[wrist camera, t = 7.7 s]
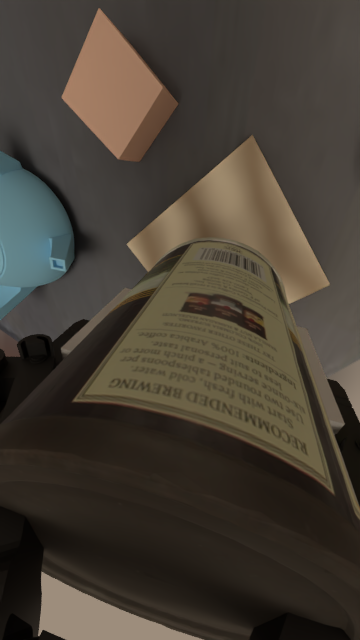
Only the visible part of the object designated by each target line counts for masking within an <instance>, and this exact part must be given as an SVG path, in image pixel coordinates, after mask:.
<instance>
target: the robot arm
mask: <svg viewBox="0 0 360 640" xmlns="http://www.w3.org/2000/svg"><path fill="white" fill-rule="evenodd" d="M131 290H132V289H127V288H124V289H123V290H122V291H121V292H120V293H119V294H118V295H117V296H116V297H115V298H114V299H113V300H112V301H110V302H109V303H108V304H107V305H106V306H105V307H104V308H103V309H102V310H101V311H100V312H99V313H98V314H97V315H96V316H95V317H93V318H92V319H91V320H90V321H88V320H84V319H83V320H80V321H78V322H76V323H74V324H73V325H72V326H71V327H69V328H68V329H67V330H66V331H65V332H64V333H63V334H61V335H60V336H59V337H58V338H57V339H56V340H54V341H53V342H52V340H51V338H50V337H49V336H47V335H44V334H36V335H30V336H28V337H25V338H23V339H22V340H20V341H19V342H18V344H17V347H18V350H19V353H20V357H6V356H5V353H4V351H3V350H1V349H0V424H1V423H2V422H3V421H4V420H5V419H6V418H7V417H8V416H9V415H10V414H11V413H12V412H13V411H14V410H15V409H16V408H17V407H18V406H19V405H20V404H21V403H22V402H23V401H24V400H25V399H26V398H27V397H28V396H29V395H30V394H31V393H32V391H33V390H34V389H35V388H36V387H37V386H38V385H39V384H40V383H41V382H43V380H44V379H45V378H46V377H47V376H48V375H49V374H50V373H51V372H52V371H53V370H54V369H55V368H56V367H57V366H58V365H59V364H60V362H61V361H62V360H63V359H64V358H66V357H67V356H68V354H69V353H70V352H71V351H72V350H73V349H74V348H75V347H76V346H77V345H78V344H79V343H80V342H81V341H82V340H83V339H84V338H85V337H86V336H87V335H88V334H89V333H90V332H91V331H92V330H93V329H94V327H95V326H96V325H97V324H99V323H100V322H101V321H102V320H103V319H104V318H105V317H106V316H107V315H108V313H109V312H110V311H111V310H112V309H113V308H114V307H115V306H116V305H117V304H118V303H119V302H120V301H121V300H122V299H123V298H124V297H125V296H126V295H127V294H128V293H129V292H130V291H131ZM296 327H297V326H296ZM297 329H298V332H299V335H300V337H301V340H302V343H303V346H304V349H305V352H306V355H307V358H308V361H309V364H310V367H311V370H312V372H313V375H314V378H315V381H316V384H317V387H318V389H319V392H320V395H321V398H322V401H323V403H324V406H325V409H326V412H327V415H328V418H329V421H330V424H331V427H332V430H333V433H334V435H335V438H336V441H337V444H338V447H339V449H340V452H341V455H342V458H343V460H344V463H345V466H346V469H347V472H348V475H349V478H350V481H351V483H352V486H353V489H354V492H355V495H356V498H357V501H358V504H359V507H360V422H359V420H358V418H357V416H356V414H355V411H354V409H353V408H352V405H351V403H350V401H349V400H348V396H347V394H346V392H345V390H344V389H343V388H342V387H341V386H340V384H339V383H338V382H337V381H334V380H330V379H327V378H326V376H325V373H324V371H323V368H322V366H321V363H320V361H319V359H318V356H317V354H316V351H315V349H314V346H313V344H312V341H311V339H310V336H309V334H308V331H307V329H306V328H302V327H297ZM43 554H44V547H43V546H42V544H41V543H40V541H39V539H38V537H37V536H36V534H35V532H34V530H33V528H32V527H31V525H30V523H29V522H28V520H27V518H26V516H24V515H21V514H19V513H16V512H14V511H11V510H9V509H6V508H4V507H1V506H0V640H65V639H63V638H61V637H58V636H56V635H54V634H51V633H49V632H47V631H45V630H43V631H42V633H41V635H40V636H38V630H39V621H40V613H41V597H42V596H41V595H42V592H41V571H42V562H43ZM249 640H351V639H350V638H349V637H348V635H347V634H346V633H345V631H344V630H342V629H341V628H339V627H333V626H329V625H325V624H322V623H319V622H316V621H313V620H310V619H307V618H304V617H300V616H297V615H294V614H292V613H289V612H288V613H286V614H283V615H281V616H279V617H277V618H274V619H272V620H270V621H268V622H265V623H263V624H261V625H259V626H256V627H254V628H253V631H252V633H251V635H250V638H249Z"/></svg>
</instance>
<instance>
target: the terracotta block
mask: <svg viewBox="0 0 360 640" xmlns="http://www.w3.org/2000/svg"><path fill="white" fill-rule="evenodd" d="M62 99H63V100H64V101H65V102H66V103H67V104H68V105H69V106H70V108H71V109H72V110H73V111H74V112H75V113H76V114H77V115H78V116H79V117H80V118H81V120H82V121H83V122H84V123H85V124H86V125H87V126H88V127H89V128H90V129H91V130H92V131H93V133H94V134H95V135H96V136H97V137H98V138H99V139H100V140H101V141H102V142H103V143H104V145H105V146H106V147H107V148H108V149H109V150H110V151H111V152H112V153H113V154H114V155H115V156H116V158H117V159H118V160H126V161H135V162H140V160H141V159H142V157H143V156H144V154H145V153H146V152H147V150H148V149H149V147H150V146H151V144H152V143H153V141H154V140H155V138H156V137H157V135H158V134H159V132H160V131H161V129H162V128H163V126H164V125H165V123H166V122H167V120H168V119H169V117H170V116H171V114H172V113H173V112H174V110H175V109H176V107H177V106H178V102H177V101H176V100H175V99H174V97H173V96H172V95H171V94H170V92H169V91H168V90H167V89H166V87H165V86H164V85H163V84H162V82H161V81H160V80H159V79H158V77H157V76H156V75H155V74H154V72H153V71H152V70H151V69H150V67H149V66H148V65H147V64H146V62H145V61H144V60H143V59H142V57H141V56H140V55H139V54H138V52H137V51H136V50H135V49H134V47H133V46H132V45H131V44H130V42H129V41H128V40H127V39H126V38H125V37H124V36H123V34H122V33H121V32H120V31H119V30H118V29H117V28H116V26H115V25H114V24H113V23H112V22H111V21H110V20H109V18H108V17H107V16H106V15H105V14H104V13H103V12H102V10H101V9H100V8H99V9H98V11H97V14H96V16H95V18H94V21H93V23H92V26H91V28H90V30H89V33H88V35H87V38H86V40H85V42H84V45H83V47H82V50H81V52H80V55H79V57H78V59H77V62H76V64H75V67H74V69H73V71H72V74H71V76H70V79H69V81H68V83H67V86H66V88H65V91H64V93H63V95H62Z"/></svg>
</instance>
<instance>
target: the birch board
mask: <svg viewBox="0 0 360 640" xmlns="http://www.w3.org/2000/svg"><path fill="white" fill-rule="evenodd" d="M208 237H217V238H225V239H231V240H235V241H238V242H240V243H243V244H245V245H248V246H250V247H251V248H253V249H255V250H257V251H259V252H260V253H261V254H262V255H263V256H265V257H266V258H267V259H268V260H269V261H270V263H271V264H272V265H273V266H274V267H275V269H276V270H277V272H278V273H279V275H280V277H281V279H282V282H283V284H284V287H285V293H286V298H287V301H288V304H290V303H292V302H294V301H296V300H299V299H301V298H303V297H305V296H307V295H309V294H311V293H314V292H316V291H318V290H320V289H322V288H324V287H326V286H329V285H330V284H329V282H328V280H327V278H326V276H325V274H324V272H323V270H322V268H321V266H320V264H319V262H318V261H317V259H316V257H315V255H314V253H313V251H312V249H311V247H310V245H309V243H308V241H307V239H306V237H305V235H304V233H303V231H302V230H301V228H300V226H299V224H298V222H297V220H296V218H295V216H294V214H293V212H292V210H291V208H290V206H289V204H288V202H287V201H286V199H285V197H284V195H283V193H282V191H281V189H280V187H279V185H278V183H277V181H276V179H275V177H274V175H273V173H272V172H271V170H270V168H269V166H268V164H267V162H266V160H265V158H264V156H263V154H262V152H261V150H260V148H259V146H258V144H257V142H256V141H255V139H254V137H253V135H252V136H251V137H250V138H248V139H247V140H246V141H245V142H244V143H243V144H241V145H240V146H239V147H238V148H237V149H236V150H235V151H233V152H232V153H231V154H230V155H229V156H228V157H226V158H225V159H224V160H223V161H222V162H221V163H220V164H218V165H217V166H216V167H215V168H214V169H213V170H212V171H210V172H209V173H208V174H207V175H206V176H205V177H203V178H202V179H201V180H200V181H199V182H198V183H197V184H195V185H194V186H193V187H192V188H191V189H190V190H188V191H187V192H186V193H185V194H184V195H183V196H182V197H180V198H179V199H178V200H177V201H176V202H175V203H173V204H172V205H171V206H170V207H169V208H168V209H167V210H165V211H164V212H163V213H162V214H161V215H160V216H158V217H157V218H156V219H155V220H154V221H153V222H152V223H150V224H149V225H148V226H147V227H146V228H145V229H144V230H142V231H141V232H140V233H139V234H138V235H137V236H135V237H134V238H133V239H132V240H131V241H130V242H129V243H127V246H128V247H129V248H130V249H131V251H132V252H133V253H134V254H135V256H136V257H137V258H138V260H139V261H140V262H141V263H142V265H143V266H144V267H145V268H146V270H147V271H148V272H149V271H150V270H151V269H152V268H153V267H154V265H155V264H156V262H157V261H158V260H159V259H160V258H161V257H162V256H163V255H164V254H165V253H167V252H168V251H169V250H171V249H172V248H174V247H176V246H177V245H179V244H182V243H184V242H187V241H190V240H193V239H196V238H208Z"/></svg>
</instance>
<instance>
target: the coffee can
mask: <svg viewBox="0 0 360 640" xmlns="http://www.w3.org/2000/svg"><path fill="white" fill-rule="evenodd" d="M0 506H1V507H4V508H6V509H9V510H11V511H14V512H16V513H19V514H21V515H24V516H26V518H27V520H28V522H29V523H30V525H31V527H32V528H33V530H34V532H35V534H36V536H37V537H38V539H39V541H40V543H41V544H42V546H43V547H44V554H43V562H42V572H44V573H45V574H47V575H49V576H51V577H53V578H55V579H58V580H60V581H61V582H63V583H65V584H67V585H69V586H71V587H73V588H75V589H77V590H79V591H81V592H83V593H85V594H88V595H90V596H92V597H94V598H96V599H98V600H101V601H103V602H105V603H108V604H110V605H112V606H115V607H117V608H119V609H121V610H124V611H126V612H129V613H131V614H134V615H136V616H139V617H142V618H144V619H147V620H150V621H153V622H156V623H159V624H162V625H164V626H166V627H168V628H170V629H173V630H176V631H179V632H182V633H185V634H188V635H192V636H195V637H198V638H201V639H204V640H249V638H250V635H251V633H252V631H253V628H254V627H256V626H259V625H261V624H263V623H265V622H268V621H270V620H272V619H274V618H277V617H279V616H281V615H283V614H286V613H288V612H289V613H292V614H294V615H297V616H300V617H304V618H307V619H310V620H313V621H316V622H319V623H322V624H325V625H329V626H333V627H339V628H341V629H342V630H344V631H345V633H346V634H347V635H348V637H349V638H350V639H351V640H360V507H359V504H358V501H357V498H356V495H355V492H354V489H353V486H352V483H351V481H350V478H349V475H348V472H347V469H346V466H345V463H344V460H343V458H342V455H341V452H340V449H339V447H338V444H337V441H336V438H335V435H334V433H333V430H332V427H331V424H330V421H329V418H328V415H327V412H326V409H325V406H324V403H323V401H322V398H321V395H320V392H319V389H318V387H317V384H316V381H315V378H314V375H313V372H312V370H311V367H310V364H309V361H308V358H307V355H306V352H305V349H304V346H303V343H302V340H301V337H300V335H299V332H298V329H297V327H296V324H295V321H294V318H293V315H292V313H291V310H290V307H289V304H288V301H287V298H286V293H285V287H284V284H283V282H282V279H281V277H280V275H279V273H278V272H277V270H276V269H275V267H274V266H273V265H272V264H271V263H270V261H269V260H268V259H267V258H266V257H265V256H263V255H262V254H261V253H260V252H259V251H257V250H255V249H253V248H251V247H250V246H248V245H245V244H243V243H240V242H238V241H235V240H231V239H225V238H217V237H208V238H196V239H193V240H190V241H187V242H184V243H182V244H179V245H177V246H176V247H174V248H172V249H171V250H169V251H168V252H167V253H165V254H164V255H163V256H162V257H161V258H160V259H159V260H158V261H157V262H156V264H155V265H154V267H153V268H152V269H151V270H150V271H149V272H148V273H147V274H146V275H145V276H144V277H143V278H142V279H141V280H140V281H139V282H138V283H137V285H136V286H135V287H134V288H133V289H132V290H131V291H130V292H129V293H128V294H127V295H126V296H125V297H124V298H123V299H122V300H121V301H120V302H119V303H118V304H117V305H116V306H115V307H114V308H113V309H112V310H111V311H110V312H109V313H108V315H107V316H106V317H105V318H104V319H103V320H102V321H101V322H100V323H99V324H97V325H96V326H95V327H94V329H93V330H92V331H91V332H90V333H89V334H88V335H87V336H86V337H85V338H84V339H83V340H82V341H81V342H80V343H79V344H78V345H77V346H76V347H75V348H74V349H73V350H72V351H71V352H70V353H69V354H68V356H67V357H66V358H64V359H63V360H62V361H61V362H60V364H59V365H58V366H57V367H56V368H55V369H54V370H53V371H52V372H51V373H50V374H49V375H48V376H47V377H46V378H45V379H44V380H43V382H41V383H40V384H39V385H38V386H37V387H36V388H35V389H34V390H33V391H32V393H31V394H30V395H29V396H28V397H27V398H26V399H25V400H24V401H23V402H22V403H21V404H20V405H19V406H18V407H17V408H16V409H15V410H14V411H13V412H12V413H11V414H10V415H9V416H8V417H7V418H6V419H5V420H4V421H3V422H2V423H1V424H0Z"/></svg>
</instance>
